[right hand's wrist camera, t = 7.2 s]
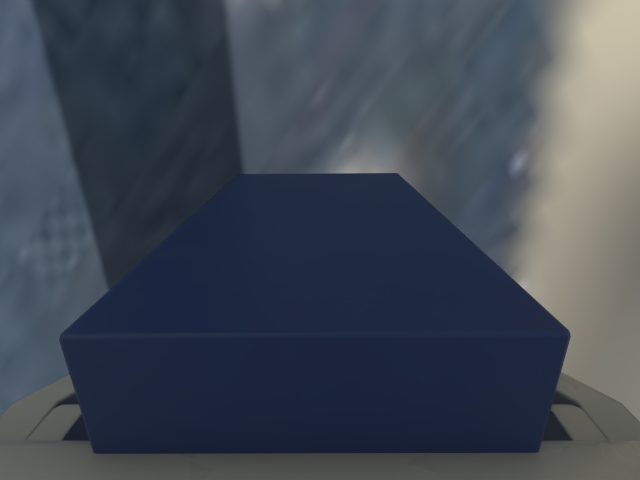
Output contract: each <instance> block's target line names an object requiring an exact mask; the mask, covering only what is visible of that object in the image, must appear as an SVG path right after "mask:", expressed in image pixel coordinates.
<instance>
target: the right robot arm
mask: <svg viewBox="0 0 640 480" xmlns="http://www.w3.org/2000/svg"><path fill="white" fill-rule="evenodd" d="M0 480H640V422H639V421H638V420H637V419H636V417H635V416H633V414H632V413H631V412H630V411H629V410H628V409H627V408H626V407H625V406H624V405H623V404H622V403H620V402H618V401H616V400H614V399H612V398H610V397H608V396H606V395H604V394H602V393H601V392H599V391H597V390H595V389H593V388H591V387H589V386H587V385H585V384H583V383H581V382H579V381H577V380H575V379H573V378H571V377H570V376H568V375H566V374H564V373H562V372H561V373H560V377H559V380H558V384H557V388H556V391H555V395H554V399H553V402H552V406H551V410H550V413H549V417H548V421H547V424H546V428H545V432H544V435H543V439H542V443H541V446H540V450H539V452H537V453H240V454H95V453H93V450H92V447H91V444H90V440H89V437H88V434H87V430H86V427H85V424H84V420H83V417H82V414H81V410H80V407H79V404H78V400H77V397H76V394H75V390H74V387H73V384H72V380H71V377H70V374H69V375H68V376H66V377H64V378H62V379H60V380H58V381H56V382H54V383H52V384H50V385H48V386H46V387H44V388H42V389H40V390H38V391H36V392H34V393H32V394H30V395H28V396H26V397H24V398H22V399H20V400H18V401H17V402H15V403H13V404H12V405H11V406H10V407H9V408H8V409H7V410H6V411H5V412H4V413H3V414H2V415H1V416H0Z"/></svg>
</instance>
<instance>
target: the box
mask: <svg viewBox="0 0 640 480" xmlns="http://www.w3.org/2000/svg"><path fill="white" fill-rule="evenodd" d="M569 340H570V332H569V330H568V329H567V328H566V327H564V326H563V325H562V324H561V323H560V322H559V321H558V320H557V319H556V318H555V317H554V316H552V315H551V314H550V313H549V312H548V311H547V310H546V309H545V308H544V307H543V306H542V305H540V304H539V303H538V302H537V301H536V300H535V299H534V298H533V297H532V296H531V295H530V294H528V293H527V292H526V291H525V290H524V289H523V288H522V287H521V286H520V285H519V284H518V283H516V282H515V281H514V280H513V279H512V278H511V277H510V276H509V275H508V274H507V273H506V272H504V271H503V270H502V269H501V268H500V267H499V266H498V265H497V264H496V263H495V262H494V261H492V260H491V259H490V258H489V257H488V256H487V255H486V254H485V253H484V252H483V251H482V250H480V249H479V248H478V247H477V246H476V245H475V244H474V243H473V242H472V241H471V240H470V239H468V238H467V237H466V236H465V235H464V234H463V233H462V232H461V231H460V230H459V229H458V228H456V227H455V226H454V225H453V224H452V223H451V222H450V221H449V220H448V219H447V218H446V217H445V216H443V215H442V214H441V213H440V212H439V211H438V210H437V209H436V208H435V207H434V206H433V205H431V204H430V203H429V202H428V201H427V200H426V199H425V198H424V197H423V196H422V195H421V194H419V193H418V192H417V191H416V190H415V189H414V188H413V187H412V186H411V185H410V184H409V183H407V182H406V181H405V180H404V179H403V178H402V177H401V176H400V175H399V174H397V173H357V174H238V175H237V176H235V177H234V178H233V179H232V180H231V181H230V182H229V183H228V184H227V185H225V186H224V187H223V188H222V189H221V190H220V191H219V192H218V193H217V194H215V195H214V196H213V197H212V198H211V199H210V200H209V201H208V202H207V203H206V204H204V205H203V206H202V207H201V208H200V209H199V210H198V211H197V212H196V213H194V214H193V215H192V216H191V217H190V218H189V219H188V220H187V221H186V222H184V223H183V224H182V225H181V226H180V227H179V228H178V229H177V230H176V231H175V232H173V233H172V234H171V235H170V236H169V237H168V238H167V239H166V240H165V241H163V242H162V243H161V244H160V245H159V246H158V247H157V248H156V249H155V250H154V251H152V252H151V253H150V254H149V255H148V256H147V257H146V258H145V259H144V260H142V261H141V262H140V263H139V264H138V265H137V266H136V267H135V268H134V269H132V270H131V271H130V272H129V273H128V274H127V275H126V276H125V277H124V278H123V279H121V280H120V281H119V282H118V283H117V284H116V285H115V286H114V287H113V288H111V289H110V290H109V291H108V292H107V293H106V294H105V295H104V296H103V297H101V298H100V299H99V300H98V301H97V302H96V303H95V304H94V305H93V306H92V307H90V308H89V309H88V310H87V311H86V312H85V313H84V314H83V315H82V316H80V317H79V318H78V319H77V320H76V321H75V322H74V323H73V324H72V325H71V326H69V327H68V328H67V329H66V330H65V331H64V332H63V333H62V334H61V335H60V339H59V341H60V344H61V347H62V351H63V354H64V357H65V361H66V364H67V367H68V371H69V374H70V377H71V380H72V384H73V387H74V390H75V394H76V397H77V400H78V404H79V407H80V410H81V414H82V417H83V420H84V424H85V427H86V430H87V434H88V437H89V440H90V444H91V447H92V450H93V453H95V454H240V453H537V452H539V450H540V446H541V443H542V439H543V435H544V432H545V428H546V424H547V421H548V417H549V413H550V410H551V406H552V402H553V399H554V395H555V391H556V388H557V384H558V380H559V377H560V373H561V369H562V366H563V362H564V359H565V355H566V351H567V348H568V344H569Z"/></svg>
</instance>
